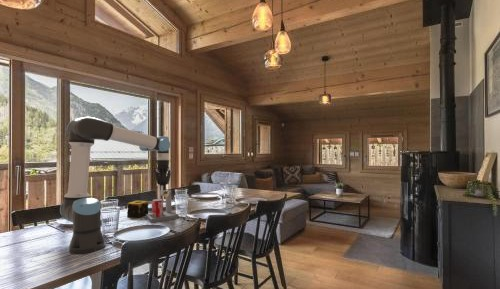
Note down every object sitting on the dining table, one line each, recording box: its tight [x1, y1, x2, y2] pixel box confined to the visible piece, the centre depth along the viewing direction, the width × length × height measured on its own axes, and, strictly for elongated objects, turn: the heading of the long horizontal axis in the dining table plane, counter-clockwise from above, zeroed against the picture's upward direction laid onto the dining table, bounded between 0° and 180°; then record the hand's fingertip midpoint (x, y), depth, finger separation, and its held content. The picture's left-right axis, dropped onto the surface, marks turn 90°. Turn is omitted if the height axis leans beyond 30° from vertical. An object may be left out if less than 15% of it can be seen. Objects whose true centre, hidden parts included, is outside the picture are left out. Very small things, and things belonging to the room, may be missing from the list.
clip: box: [163, 189, 172, 198], centre depth 188 cm, size 15×4×3 cm, turn 9°
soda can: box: [151, 198, 164, 218], centre depth 184 cm, size 7×7×13 cm
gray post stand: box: [144, 193, 179, 223], centre depth 187 cm, size 18×14×15 cm
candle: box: [126, 200, 149, 219], centre depth 192 cm, size 10×10×10 cm
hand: (162, 194), depth 183 cm, fingers closed
